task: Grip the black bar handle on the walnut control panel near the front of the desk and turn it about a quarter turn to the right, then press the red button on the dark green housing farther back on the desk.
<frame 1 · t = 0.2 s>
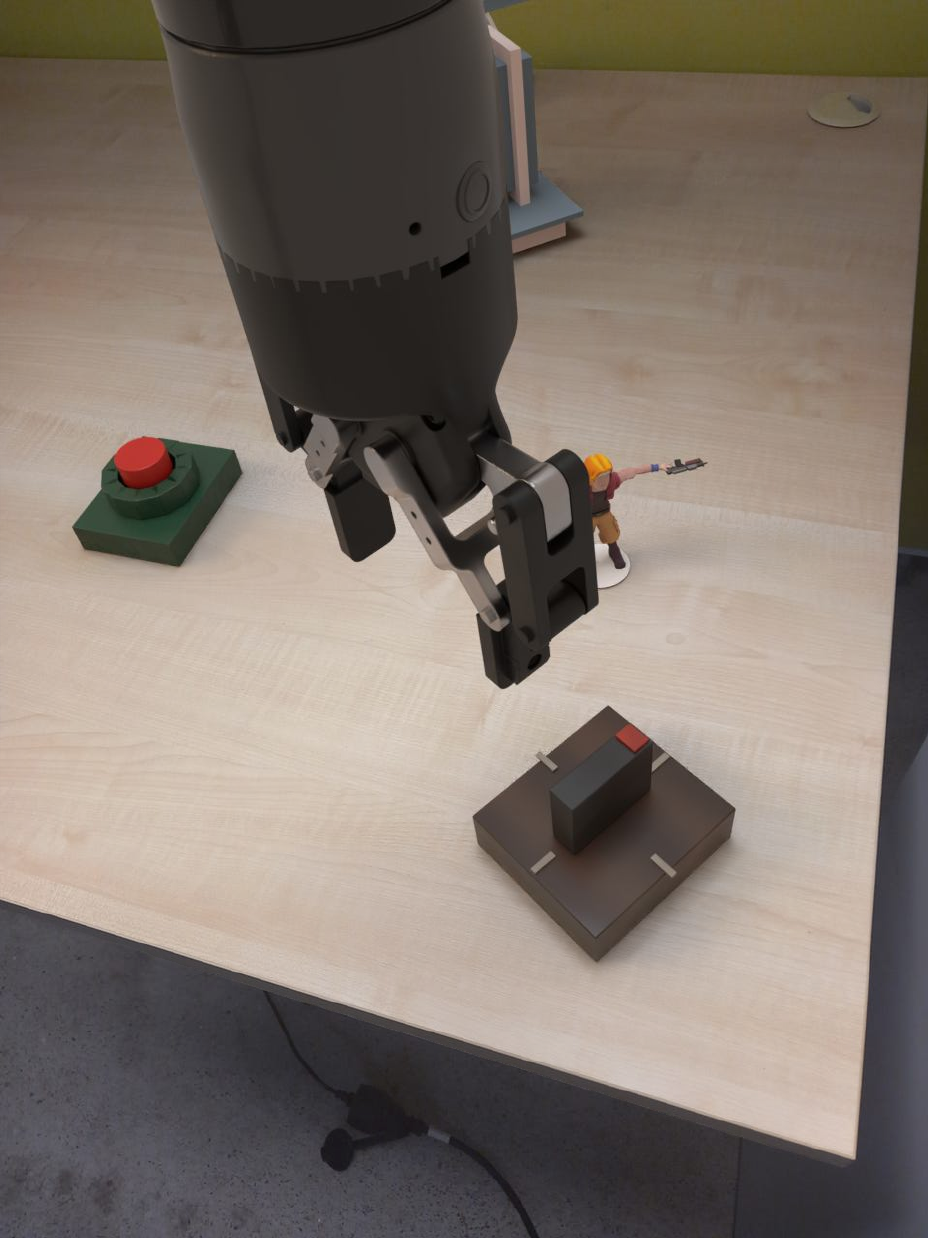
hand: (439, 605, 38), 21 cm above the table, tool pointing down, fingers open, 8 cm apart
tablet stand: (495, 94, 115), on the table
action figure: (611, 560, 68), on the table
button: (143, 462, 72), point 5 cm above the table, slide at 0.2 cm
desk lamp: (469, 232, 96), on the table
panel: (602, 840, 55), on the table
button box: (164, 509, 75), on the table
knob: (602, 787, 50), point 5 cm above the table, hinge at 0.0°
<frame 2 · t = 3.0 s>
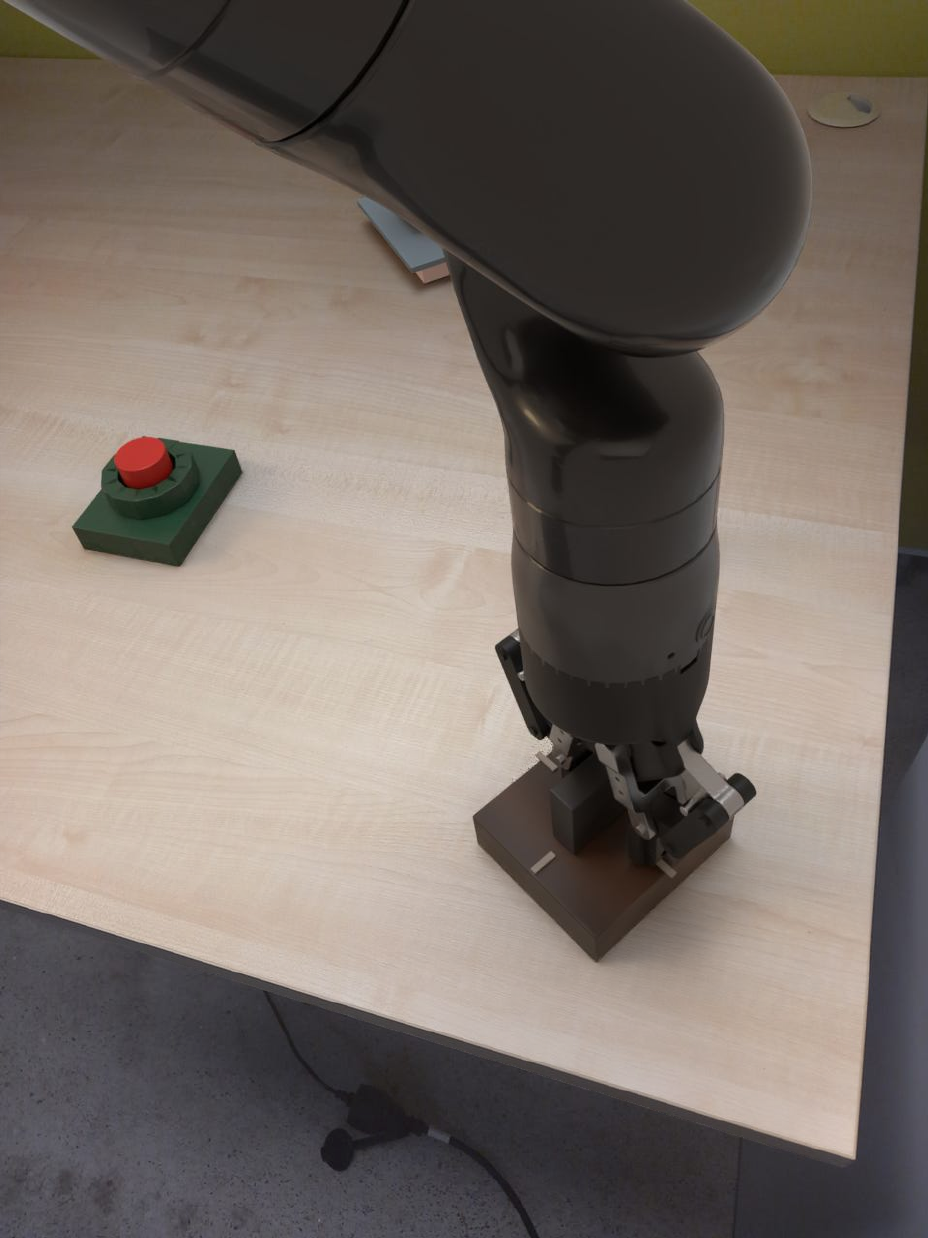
hand: (617, 823, 52), 3 cm above the table, tool pointing down, fingers open, 3 cm apart
knob: (602, 787, 50), point 5 cm above the table, hinge at 0.0°, touching gripper
everything else where it was.
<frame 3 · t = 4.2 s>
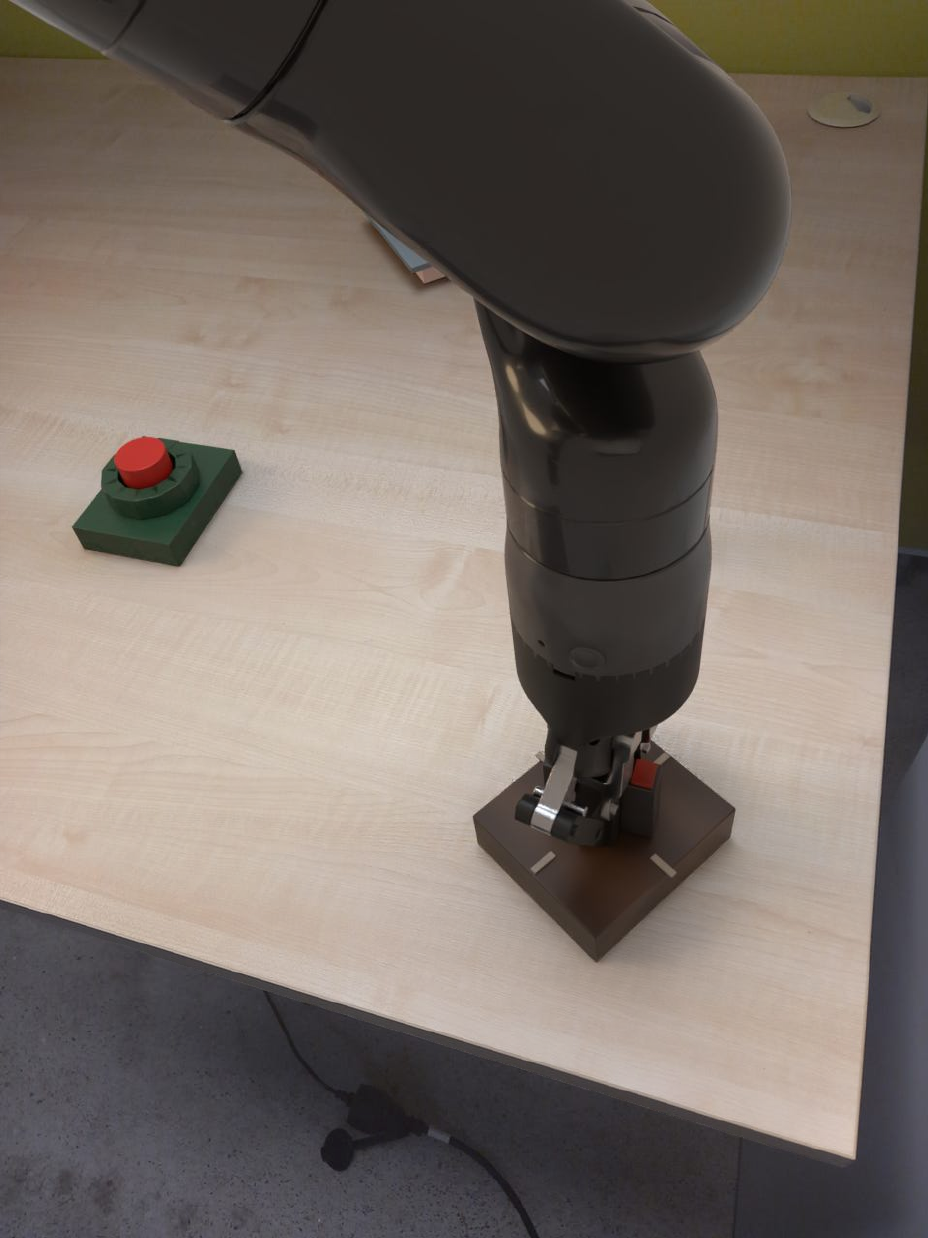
hand: (606, 812, 52), 3 cm above the table, tool pointing down, fingers closed on knob, 2 cm apart
knob: (602, 787, 50), point 5 cm above the table, hinge at -60.1°, touching gripper
everything else where it was.
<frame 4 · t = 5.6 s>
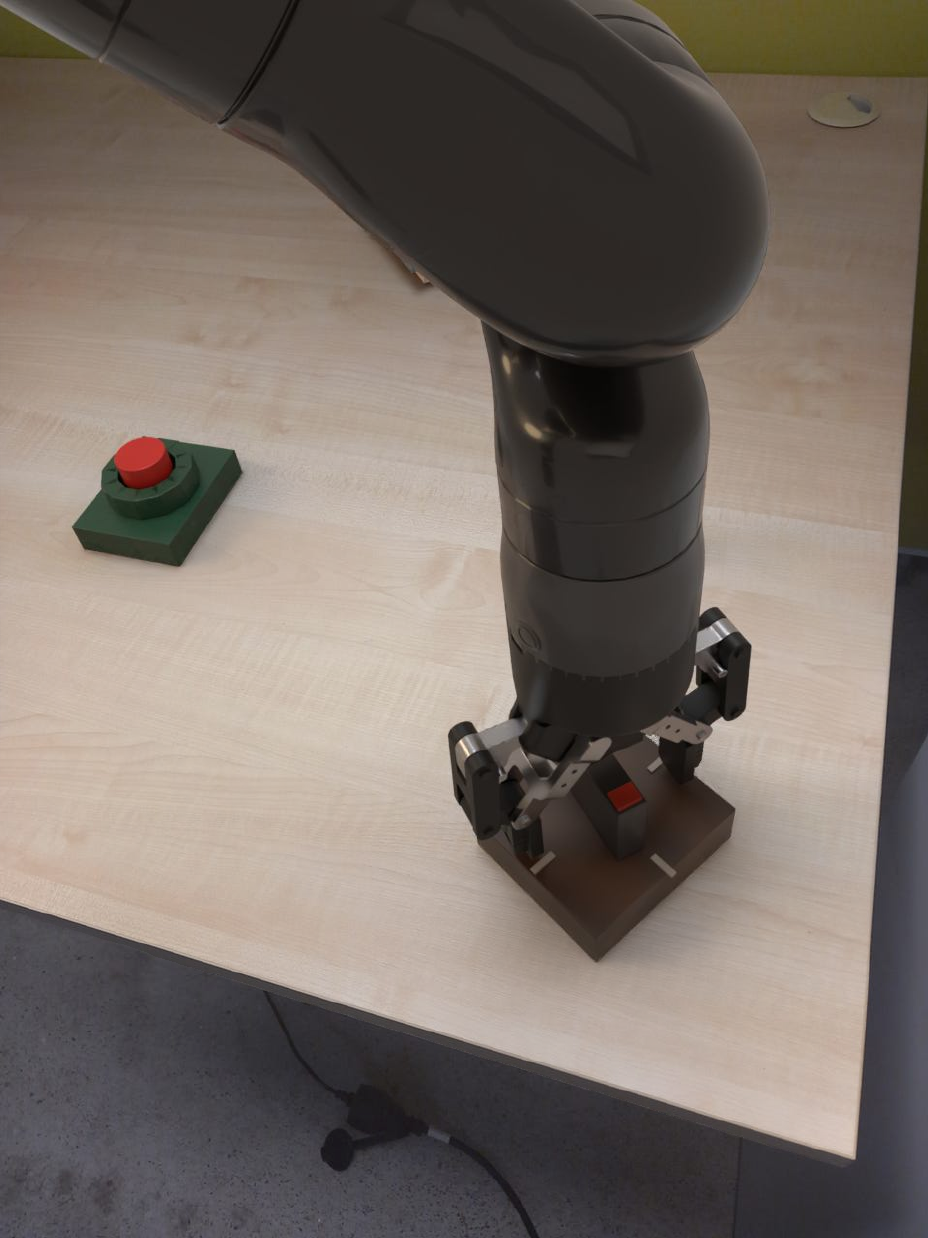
hand: (602, 805, 52), 4 cm above the table, tool pointing down, fingers open, 8 cm apart
knob: (602, 787, 50), point 5 cm above the table, hinge at -104.5°
everything else where it was.
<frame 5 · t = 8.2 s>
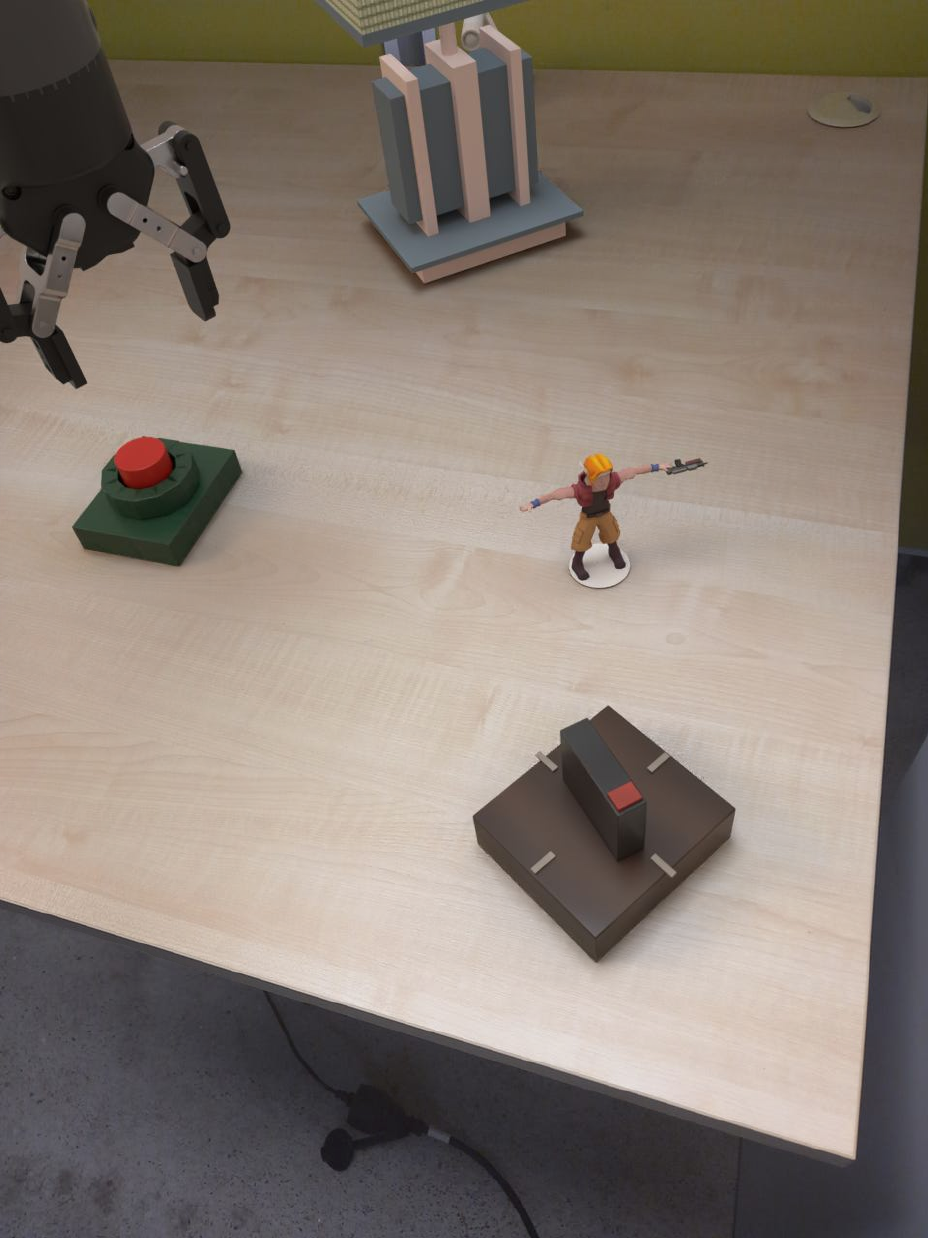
hand: (141, 346, 60), 17 cm above the table, tool pointing down, fingers open, 8 cm apart
nothing on the table moved.
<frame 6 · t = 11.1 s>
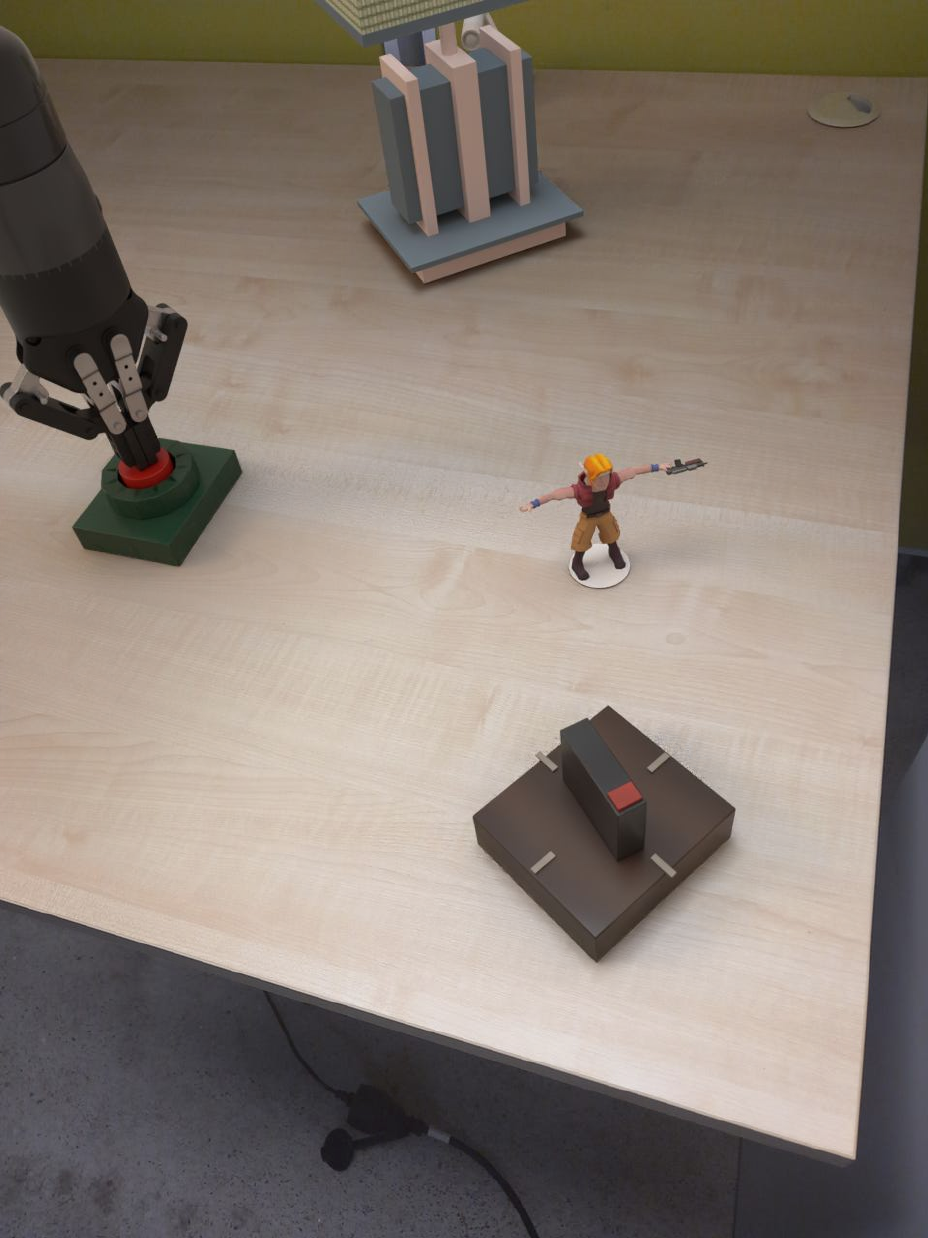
hand: (143, 461, 72), 5 cm above the table, tool pointing down, fingers closed
button: (147, 471, 73), point 4 cm above the table, slide at -0.6 cm, touching gripper
everything else where it was.
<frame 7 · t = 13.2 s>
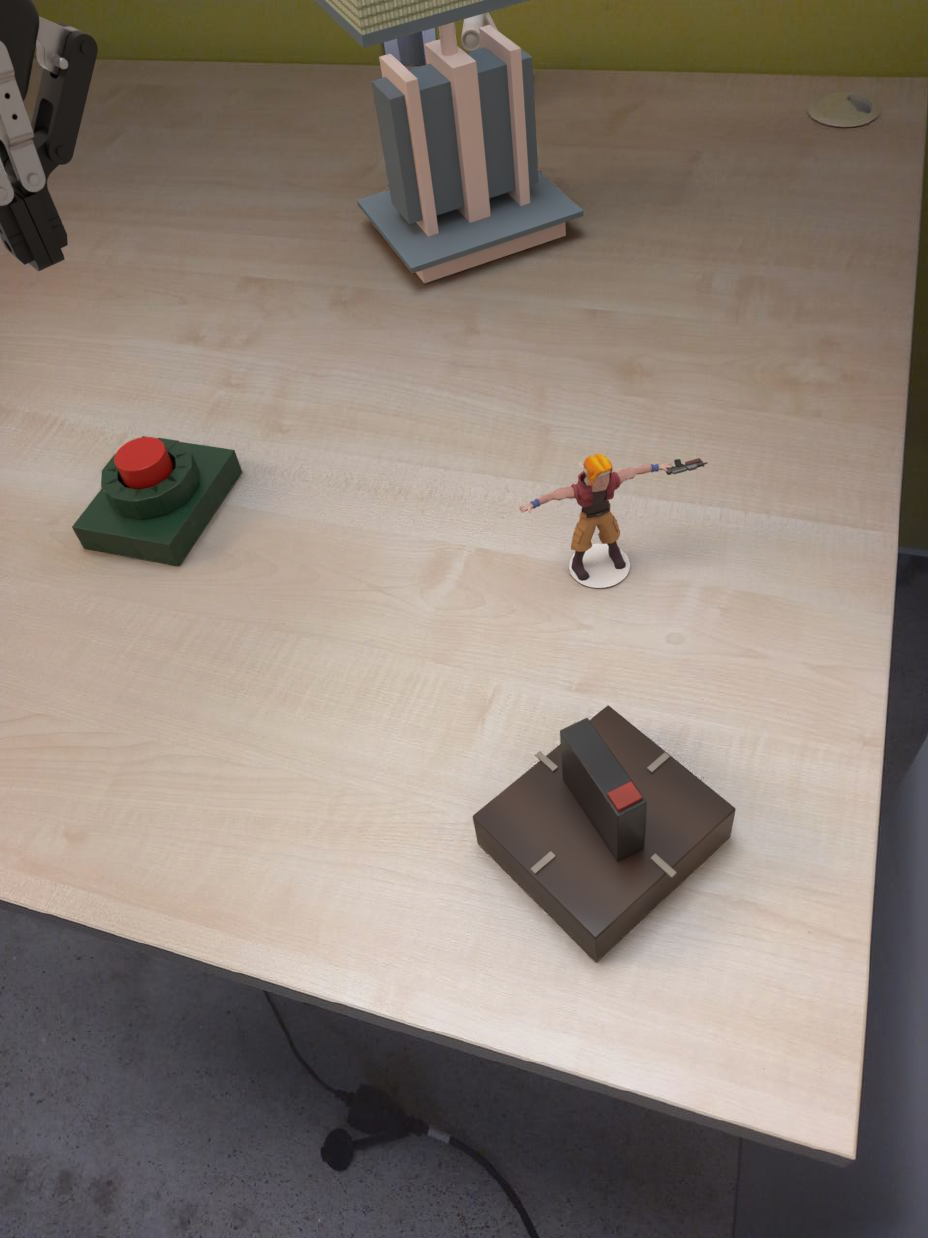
hand: (44, 260, 53), 24 cm above the table, tool pointing down, fingers closed
button: (143, 462, 72), point 5 cm above the table, slide at 0.2 cm
everything else where it was.
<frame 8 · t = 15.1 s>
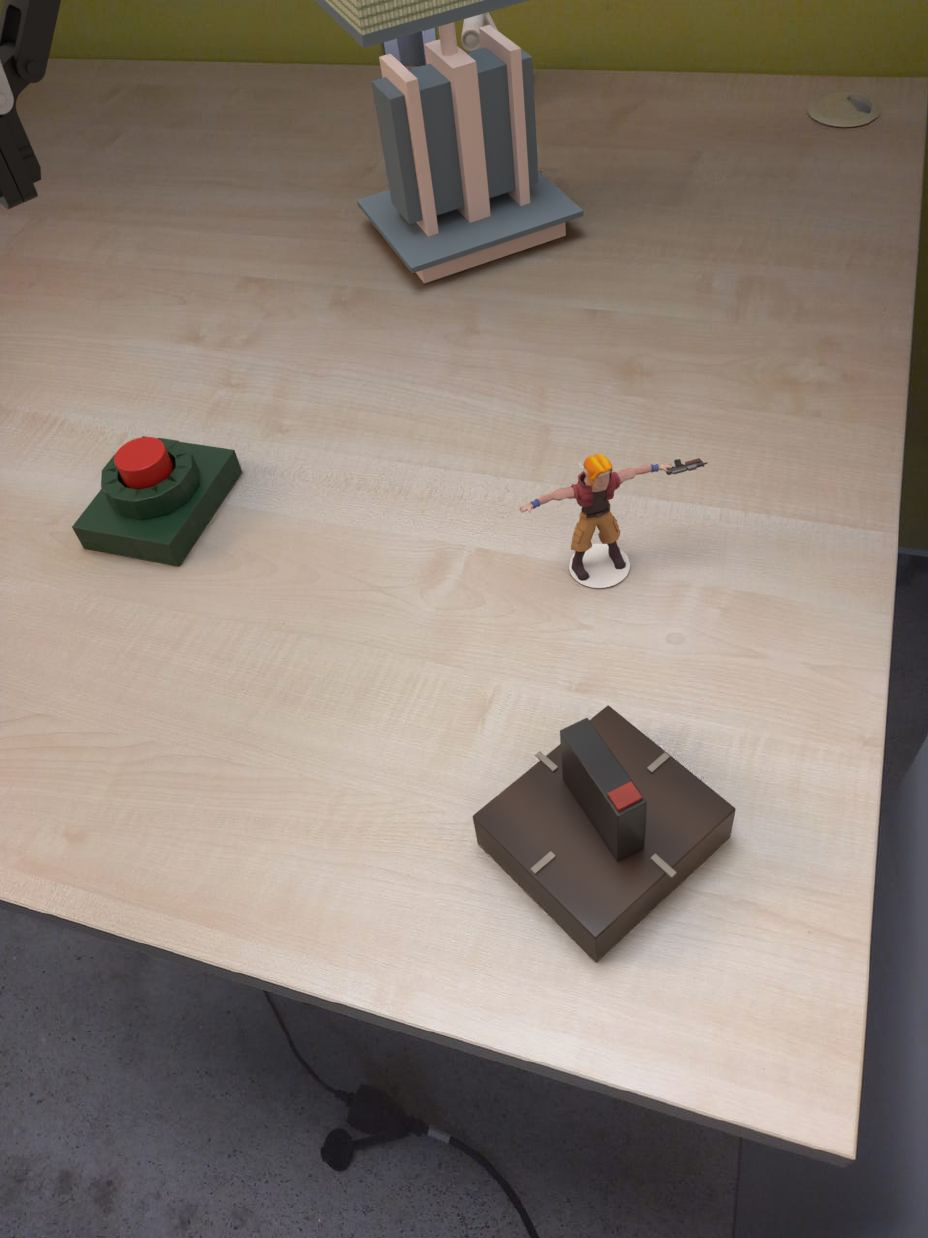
hand: (15, 197, 46), 29 cm above the table, tool pointing down, fingers closed
nothing on the table moved.
at the end: knob at -104° (first picture: +0°); button pushed in 1.0 cm at the most during the clip, back to 0.2 cm at the end; button slide at 0.2 cm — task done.
